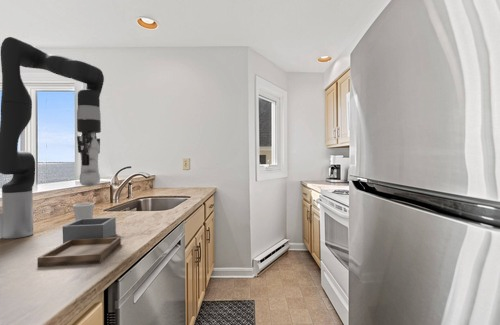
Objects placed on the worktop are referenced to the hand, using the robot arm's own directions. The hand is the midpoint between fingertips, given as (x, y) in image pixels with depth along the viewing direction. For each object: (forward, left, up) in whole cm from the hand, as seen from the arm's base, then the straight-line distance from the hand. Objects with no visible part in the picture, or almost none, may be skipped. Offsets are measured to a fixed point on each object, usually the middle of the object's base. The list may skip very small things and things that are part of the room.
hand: (89, 165), depth 104 cm
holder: (0, 0, -27) cm, 27 cm away
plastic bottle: (0, 0, -8) cm, 8 cm away
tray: (+5, -18, -27) cm, 33 cm away
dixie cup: (-12, +23, -27) cm, 38 cm away
